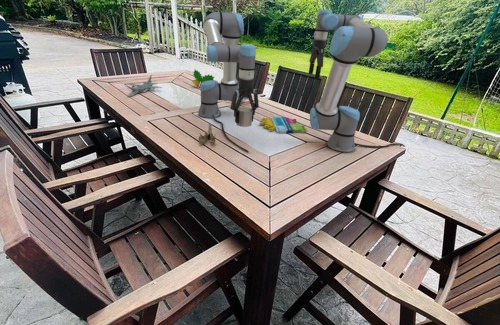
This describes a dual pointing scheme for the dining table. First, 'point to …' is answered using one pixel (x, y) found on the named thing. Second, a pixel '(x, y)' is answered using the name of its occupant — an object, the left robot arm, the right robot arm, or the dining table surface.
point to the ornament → (201, 78)
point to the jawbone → (207, 136)
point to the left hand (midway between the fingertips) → (244, 121)
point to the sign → (282, 125)
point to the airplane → (143, 87)
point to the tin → (245, 116)
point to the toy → (242, 101)
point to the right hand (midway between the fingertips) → (313, 76)
